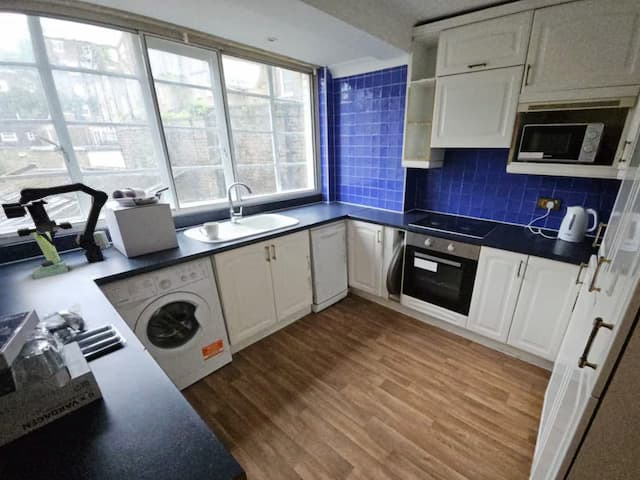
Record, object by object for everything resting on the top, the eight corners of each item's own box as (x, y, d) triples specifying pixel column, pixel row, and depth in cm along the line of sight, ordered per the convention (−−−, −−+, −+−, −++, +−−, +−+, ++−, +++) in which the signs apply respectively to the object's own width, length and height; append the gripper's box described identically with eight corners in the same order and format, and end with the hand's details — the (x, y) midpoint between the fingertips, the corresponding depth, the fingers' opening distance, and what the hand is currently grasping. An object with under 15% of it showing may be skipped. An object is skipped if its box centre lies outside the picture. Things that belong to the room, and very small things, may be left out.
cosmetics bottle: (102, 246, 184) (96, 231, 180) (110, 246, 185) (104, 230, 181) (98, 249, 179) (91, 233, 175) (106, 248, 180) (100, 232, 176)
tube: (59, 262, 160) (43, 227, 152) (46, 264, 157) (29, 229, 150) (62, 259, 164) (46, 225, 156) (49, 261, 162) (33, 227, 154)
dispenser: (66, 266, 155) (63, 259, 153) (68, 271, 148) (65, 264, 147) (34, 273, 147) (30, 266, 145) (35, 279, 140) (31, 271, 139)
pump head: (53, 263, 149) (51, 259, 148) (54, 265, 146) (52, 261, 145) (42, 266, 146) (40, 262, 145) (43, 268, 143) (41, 264, 143)
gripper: (10, 221, 130) (27, 254, 136) (66, 213, 142) (80, 243, 149) (10, 217, 137) (26, 249, 143) (64, 210, 149) (77, 239, 156)
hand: (53, 245), depth 147 cm, fingers closed
